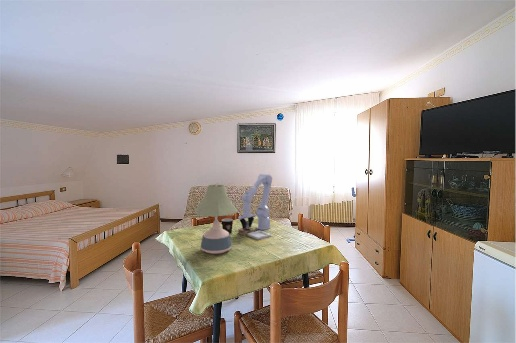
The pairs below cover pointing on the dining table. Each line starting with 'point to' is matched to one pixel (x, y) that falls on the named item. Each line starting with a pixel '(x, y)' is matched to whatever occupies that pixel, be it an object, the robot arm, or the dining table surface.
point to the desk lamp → (216, 219)
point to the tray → (259, 235)
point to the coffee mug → (227, 225)
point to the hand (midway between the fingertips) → (246, 227)
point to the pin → (247, 225)
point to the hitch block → (244, 232)
